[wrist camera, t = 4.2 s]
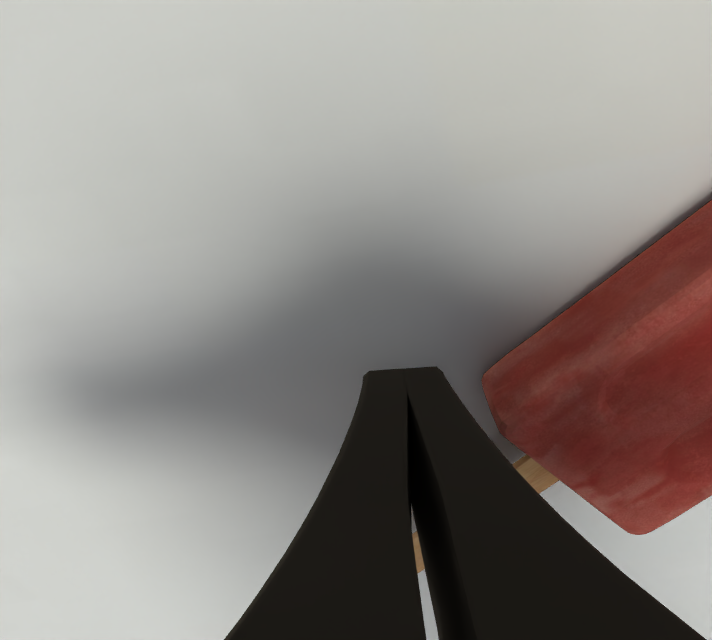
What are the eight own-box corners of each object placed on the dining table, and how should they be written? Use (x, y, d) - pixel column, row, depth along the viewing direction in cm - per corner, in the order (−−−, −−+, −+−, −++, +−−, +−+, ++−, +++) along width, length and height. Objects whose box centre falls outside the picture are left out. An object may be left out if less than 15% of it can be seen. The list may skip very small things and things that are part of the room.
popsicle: (313, 568, 11) (1238, -116, 5) (317, 502, 12) (1040, -83, 7) (457, 645, 12) (1288, 178, 7) (445, 577, 14) (1117, 151, 8)
